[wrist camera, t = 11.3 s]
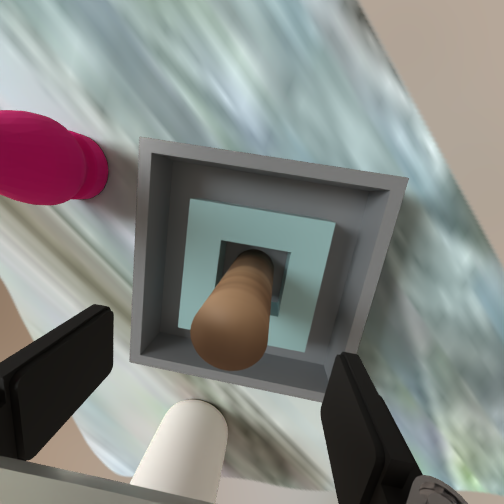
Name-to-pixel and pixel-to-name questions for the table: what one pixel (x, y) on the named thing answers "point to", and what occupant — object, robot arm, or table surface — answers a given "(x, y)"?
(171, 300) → the tray
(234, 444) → the table surface
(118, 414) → the table surface
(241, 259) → the peg
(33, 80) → the table surface
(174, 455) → the mug
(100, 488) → the robot arm
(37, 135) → the pepper mill
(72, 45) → the table surface
